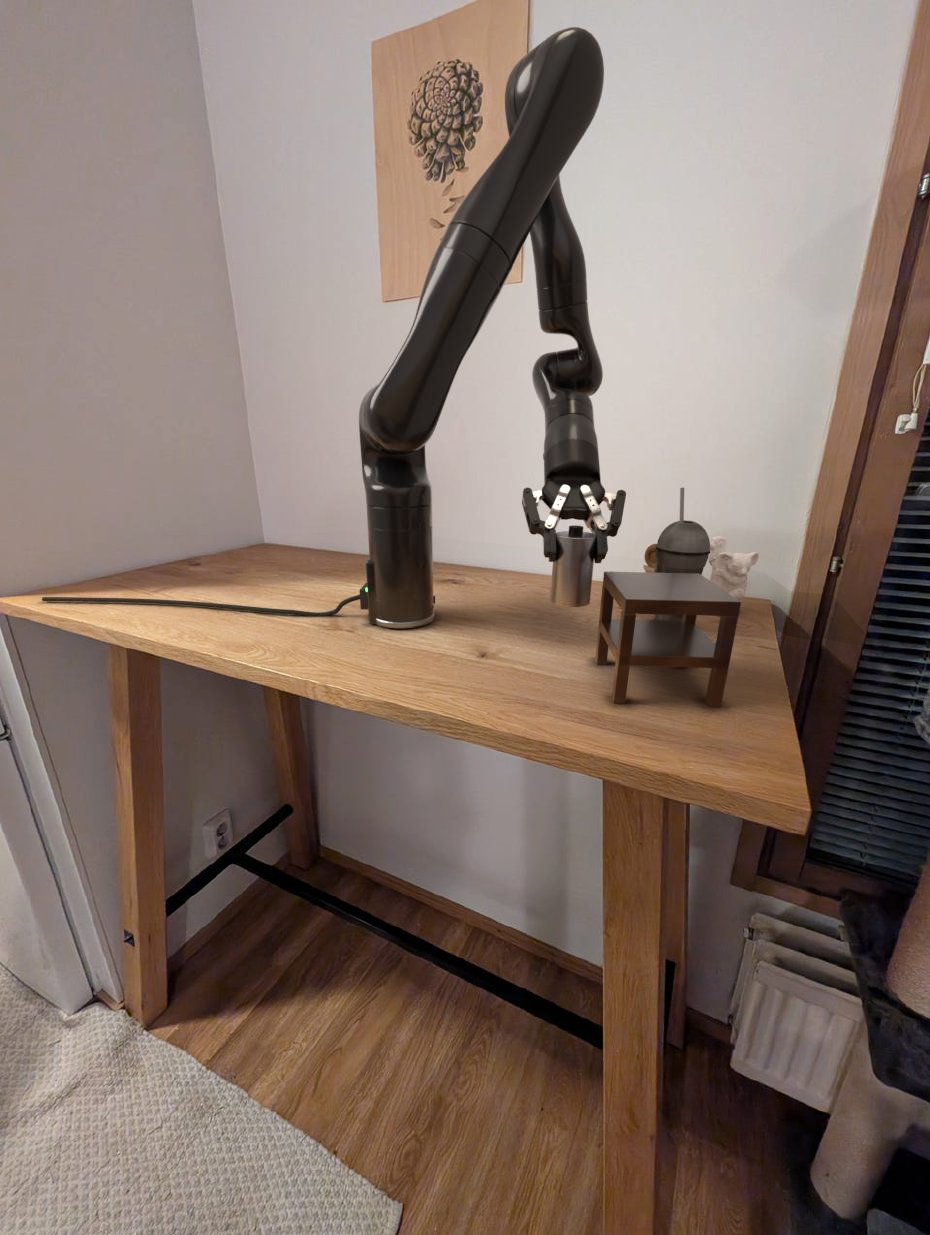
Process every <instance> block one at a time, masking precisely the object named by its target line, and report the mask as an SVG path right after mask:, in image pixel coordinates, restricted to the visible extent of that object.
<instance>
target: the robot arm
mask: <svg viewBox="0 0 930 1235" xmlns="http://www.w3.org/2000/svg"><path fill="white" fill-rule="evenodd" d="M604 81H605V65H604V56H603V53H602V49H601V46H600V43H599V41H598V40H597V39H596V37H595V36H594V35H593V34H592V33H591V32H590V31H588V30H587V29H585V28H582V27H579V26H578V27H577V26H572V27H571V26H570V27H567V28H563V29H561V30H558V31H556V32H554V33H552V34H550V35H549V36H548V37H546V38H545V40H543V41H542V42H541V43H539V44H538V45H536V46H535V47H533V49H531V50H530V51H528V53H527V54H525V55H524V56H523V57H522V58H520V59H519V60H518V61H517V63H516V64H515V65H514V66H513V67H512V70H511V71H510V73H509V75H508V78H507V82H506V84H505V89H504V90H505V91H504V114H505V121H506V128H507V133H508V139H507V141H506V143H505V144H504V146H503V147H502V149H501V150H500V152H499V153H498V155H497V156H496V157H495V158H494V159H493V161H492V162H491V163H490V164H489V166H488V167H487V169H486V170H485V171H484V172H483V173H482V175H481V176H480V177H479V179H478V180H477V181H476V183H474V185H473V187H472V188H471V189H470V190H469V192H468V193H467V194H466V196H465V197H464V199H463V200H462V201H461V203H460V204H459V206H458V207H457V209H456V211H455V212H454V214H453V216H452V218H451V220H450V221H449V223H448V225H447V228H446V229H445V231H444V234H443V236H442V237H441V240H440V242H439V245H438V247H437V249H436V251H435V252H434V255H433V257H432V260H431V262H430V266H429V268H428V270H427V273H426V275H425V276H426V277H425V279H424V283H423V286H422V290H421V292H420V297H419V300H418V305H417V309H416V312H415V316H414V319H413V321H412V325H411V328H410V330H409V333H408V334H407V336H406V338H405V340H404V343H403V344H402V346H401V348H400V349H399V351H398V353H397V354H396V356H395V359H394V360H393V362H392V363H391V365H390V366H389V368H388V370H387V371H386V373H385V374H384V375H383V377H382V379H381V380H380V382H379V383H378V384H376V385H375V386H373V387H371V388H370V389H369V390H367V392H366V393H365V395H364V396H363V399H362V400H361V402H360V405H359V411H358V431H359V432H358V434H359V447H360V459H361V472H362V474H361V475H362V481H363V485H364V491H365V492H364V493H365V503H366V518H367V519H366V520H367V521H366V523H367V537H368V539H367V540H368V554H369V555H368V557H369V558H368V559H366V561H365V573H366V582H365V583H364V584H363V585H362V586H361V587H360V589H359V594H357V595H354V596H350V597H348V598H345V599H344V600H342V601H341V602H339V603H338V605H337V606H336V607H335V608H334V609H332V610H329V611H323V612H315V611H314V612H312V611H305V610H296V609H287V608H286V609H283V608H272V607H260V606H250V605H239V604H229V603H227V604H226V603H216V602H203V601H191V600H190V601H189V600H175V599H161V598H160V599H158V598H157V599H156V598H136V597H135V598H134V597H133V598H132V597H87V596H85V597H83V596H79V597H78V596H42V597H41V601H42V602H63V603H64V602H65V603H66V602H68V603H69V602H71V603H72V602H77V603H78V602H79V603H85V602H86V603H123V604H124V603H127V604H128V603H129V604H153V605H154V604H155V605H156V604H157V605H172V606H188V607H200V608H201V607H202V608H211V609H212V608H213V609H225V610H234V611H235V610H236V611H246V612H256V613H257V612H258V613H266V614H276V615H277V614H278V615H292V616H302V617H313V618H314V617H320V618H321V617H331V616H334V615H337V614H338V613H339V612H340V611H341V610H342V609H343V607H345V606H346V605H347V604H350V603H353V602H355V601H359V604H360V605H359V606H360V610H368V624H369V625H376V626H380V627H383V628H387V629H401V630H403V629H413V628H419V627H423V626H426V625H428V624H430V623H432V622H433V621H434V620H435V610H434V609H435V605H436V596H435V595H434V543H433V542H434V540H433V539H434V538H433V536H434V533H433V532H434V530H433V489H432V484H431V481H430V479H429V476H428V471H427V470H428V469H427V460H426V444H427V443H428V442H429V441H430V439H432V436H433V435H434V433H435V430H436V429H437V425H438V423H439V421H440V417H441V415H442V412H443V409H444V406H445V404H446V401H447V399H448V396H449V394H450V391H451V389H452V386H453V383H454V380H455V378H456V375H457V374H458V371H459V368H460V366H461V365H462V362H463V361H464V358H465V357H466V355H467V353H468V351H469V350H470V348H471V346H472V344H473V343H474V342H475V340H476V338H477V336H478V334H479V333H480V331H481V329H482V328H483V326H484V324H485V322H486V321H487V318H488V316H489V315H490V313H491V312H492V310H493V307H494V306H495V303H496V302H497V300H498V299H499V296H500V294H501V292H502V290H503V288H504V286H505V284H506V282H507V280H508V278H509V276H510V275H511V272H512V270H513V268H514V265H515V263H516V262H517V259H518V256H519V255H520V252H521V250H522V248H523V246H524V244H525V242H526V241H527V238H528V236H530V243H531V248H532V249H531V250H532V256H533V264H534V275H535V286H536V298H537V310H538V319H539V320H538V322H539V326H540V329H541V331H542V332H543V333H545V334H548V335H563V336H569V337H571V338H572V339H573V340H574V341H575V343H576V346H577V347H575V348H573V347H572V348H569V349H563V350H557V351H550V352H546V353H544V354H542V355H540V356H539V357H538V359H536V361H535V363H533V364H534V365H533V366H532V373H531V378H532V384H533V388H534V392H535V394H536V396H537V399H538V400H539V402H540V404H541V407H542V410H543V414H544V432H545V433H544V443H543V454H542V458H543V475H544V476H543V478H544V479H543V480H544V481H543V484H544V485H543V486H542V487H541V489H538V490H532V488H531V487H525V488H524V489H523V490H522V498H521V506H522V508H523V513H524V516H525V521H526V524H527V528H528V531H529V534H531V535H533V536H534V535H540V536H541V537H542V539H543V540H542V543H543V544H542V546H543V556H544V558H548V563H553V562H555V558H556V533H557V530H556V529H557V527H558V525H559V523H560V521H561V520H564V521H565V520H577V521H583V522H584V524H585V526H586V528H587V529H589V530H590V533H593V534H595V535H596V545H595V555H594V564H601V563H602V561H603V560H605V558H606V556H607V554H608V551H609V545H608V537H611V538H614V537H616V536H617V535H618V533H619V528H620V527H621V525H622V522H623V515H624V508H625V504H626V496H627V492H626V491H625V490H624V489H619V490H617V492H610V491H606V489H605V488H604V485H603V484H602V482H601V468H600V466H601V465H600V456H599V443H598V437H597V436H598V435H597V433H596V428H595V416H594V415H595V414H594V405H593V401H592V399H591V398H590V396H594V395H595V394H596V393H597V392H598V391H599V389H600V387H601V385H602V382H603V378H604V369H603V364H602V361H601V357H600V354H599V352H598V349H597V345H596V342H595V339H594V335H593V332H592V327H591V322H590V316H589V315H590V314H589V303H588V282H587V281H588V280H587V278H588V277H587V276H588V275H587V264H586V257H585V253H584V248H583V245H582V242H581V240H580V237H579V235H578V232H577V230H576V227H575V225H574V222H573V220H572V217H571V215H570V213H569V210H568V207H567V205H566V201H565V197H564V194H563V190H562V184H561V183H562V182H561V176H560V174H561V173H562V171H563V169H564V167H565V166H566V165H567V163H568V161H569V159H570V158H571V156H572V154H573V153H574V151H575V150H576V149H577V148H578V147H577V146H578V145H579V144H580V142H581V140H582V139H583V137H584V136H585V134H586V132H587V131H588V130H589V128H590V126H591V125H592V123H593V120H594V118H595V116H596V114H597V111H598V109H599V106H600V102H601V99H602V95H603V90H604ZM540 501H542V502H543V503H544V504H545V505H546V506H547V508H548V509H549V510H550V511H549V514H548V516H547V517H546V520H542V519H541V518H540V514H539V511H538V506H539V504H540ZM603 502H605V503H606V507H607V508H608V511H611V512H610V518H609V521H608V522H606V520H605V518H604V517H603V514H602V509H601V507H600V505H601V504H602V503H603Z"/></svg>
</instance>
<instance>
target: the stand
mask: <svg viewBox="0 0 930 1235" xmlns="http://www.w3.org/2000/svg"><path fill="white" fill-rule="evenodd" d="M602 577H603V578H602V586H601V587H602V588H601V598H600V599H601V600H600V608H599V618H598V628H597V629H598V630H597V639H596V650H595V659H594V660H595V663H596V665H598V666H600V665H601V666H607V665H608V655H609V650H610V653H611V654H612V656H613V658H614V659H615V665H614V673H613V682H612V683H613V684H612V692H611V700H612V702H613V704H621V705H625V704H626V700H627V694H628V693H627V691H628V685H629V675H630V669H631V668H630V667H631V666H633V667H660V668H661V667H662V668H663V667H666V668H667V667H668V668H699V669H710V672H709V679H708V683H707V690H706V694H705V700H704V701H705V703H706V704H707V706H708V707H709V708H721V707H722V704H723V698H724V695H725V694H724V693H725V688H726V683H727V677H728V672H729V668H730V662H731V656H732V653H733V647H734V642H735V637H736V632H737V627H738V621H739V615H740V611H741V606H742V601H741V600H737V599H736V598H734V597H733V596H731V595H730V594H729V593H727V592H726V591H724V590H723V589H721V588H720V587H718V586H717V585H715V584H714V583H712V582H711V581H710V579H708V578H707V577H705V576H703V574H702V575H701V574H696V573H649V572H646V571H645V572H643V571H642V572H641V571H603V576H602ZM614 601H615V603H616V604H617V606H618V607H619V608H620V609H621V613H620V618H618V619H617V618H616V619H615V618H613V609H614ZM655 614H665V615H683V616H682V621H661V620H655V619H653V620H652V619H637V615H655ZM697 616H708V617H709V616H710V617H711V616H712V617H720V618H719V623H718V629H717V635H716V639H715V642H714V641H713V640H712V639H711V638H710V637H709V636H708V635H707V634H706V633H705V632H704V631H703V630H701V629H700V628H699V627H698V626H697V625H696V622H697Z"/></svg>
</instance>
